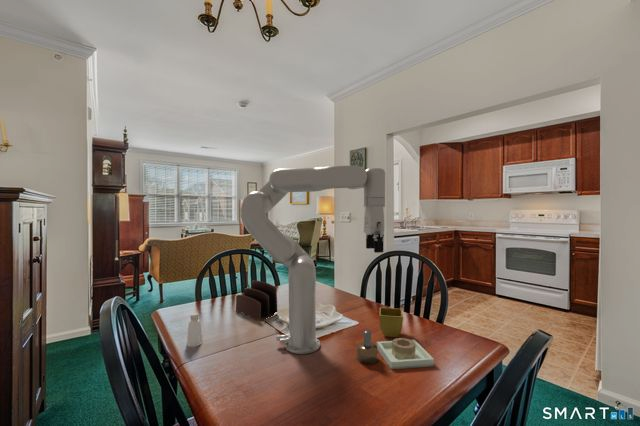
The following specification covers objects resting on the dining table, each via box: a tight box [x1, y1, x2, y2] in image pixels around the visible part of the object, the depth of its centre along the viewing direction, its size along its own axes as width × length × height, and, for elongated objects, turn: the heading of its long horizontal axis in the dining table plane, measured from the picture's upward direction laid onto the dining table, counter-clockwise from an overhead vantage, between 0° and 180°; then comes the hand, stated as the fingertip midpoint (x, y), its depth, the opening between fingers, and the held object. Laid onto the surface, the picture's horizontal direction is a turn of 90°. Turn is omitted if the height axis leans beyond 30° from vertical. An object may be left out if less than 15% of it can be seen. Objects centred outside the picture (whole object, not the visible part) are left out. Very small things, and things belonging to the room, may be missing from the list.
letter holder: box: [235, 280, 278, 322], centre depth 141 cm, size 10×20×14 cm, turn 47°
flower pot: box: [379, 307, 404, 338], centre depth 117 cm, size 9×9×9 cm
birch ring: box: [391, 337, 415, 360], centre depth 100 cm, size 7×7×4 cm
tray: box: [376, 339, 435, 370], centre depth 100 cm, size 14×14×2 cm
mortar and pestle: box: [356, 329, 379, 365], centre depth 98 cm, size 7×7×9 cm
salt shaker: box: [186, 312, 203, 348], centre depth 109 cm, size 5×5×11 cm
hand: (374, 250), depth 108 cm, fingers open, 9 cm apart
